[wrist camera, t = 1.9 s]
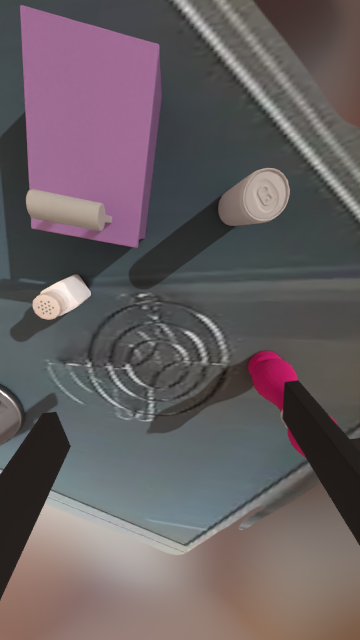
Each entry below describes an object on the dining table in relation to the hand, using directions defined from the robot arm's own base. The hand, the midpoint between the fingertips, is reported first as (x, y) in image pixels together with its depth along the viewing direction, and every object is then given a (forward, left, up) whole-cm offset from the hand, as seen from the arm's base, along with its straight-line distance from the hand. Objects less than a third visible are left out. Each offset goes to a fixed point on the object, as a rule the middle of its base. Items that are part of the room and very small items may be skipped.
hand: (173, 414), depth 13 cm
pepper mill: (+20, -10, -26) cm, 34 cm away
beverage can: (+7, +15, -26) cm, 31 cm away
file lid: (-11, +16, -18) cm, 27 cm away
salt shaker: (-15, -1, -26) cm, 30 cm away
